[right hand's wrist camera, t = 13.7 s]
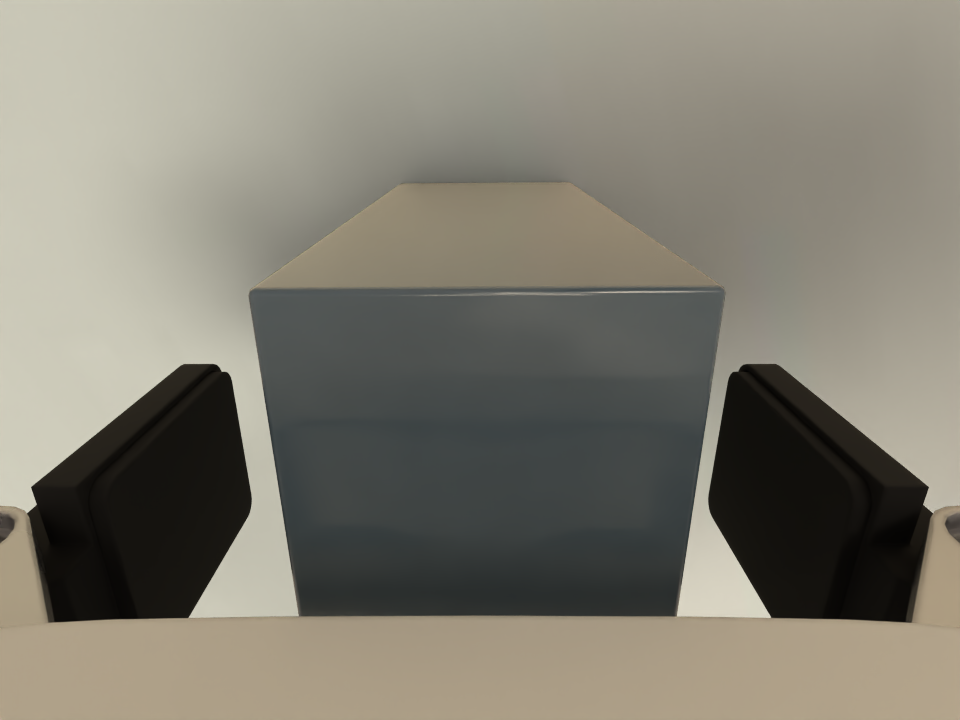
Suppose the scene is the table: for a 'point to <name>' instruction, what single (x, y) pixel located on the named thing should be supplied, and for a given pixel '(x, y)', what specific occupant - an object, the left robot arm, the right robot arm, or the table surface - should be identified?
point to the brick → (487, 406)
